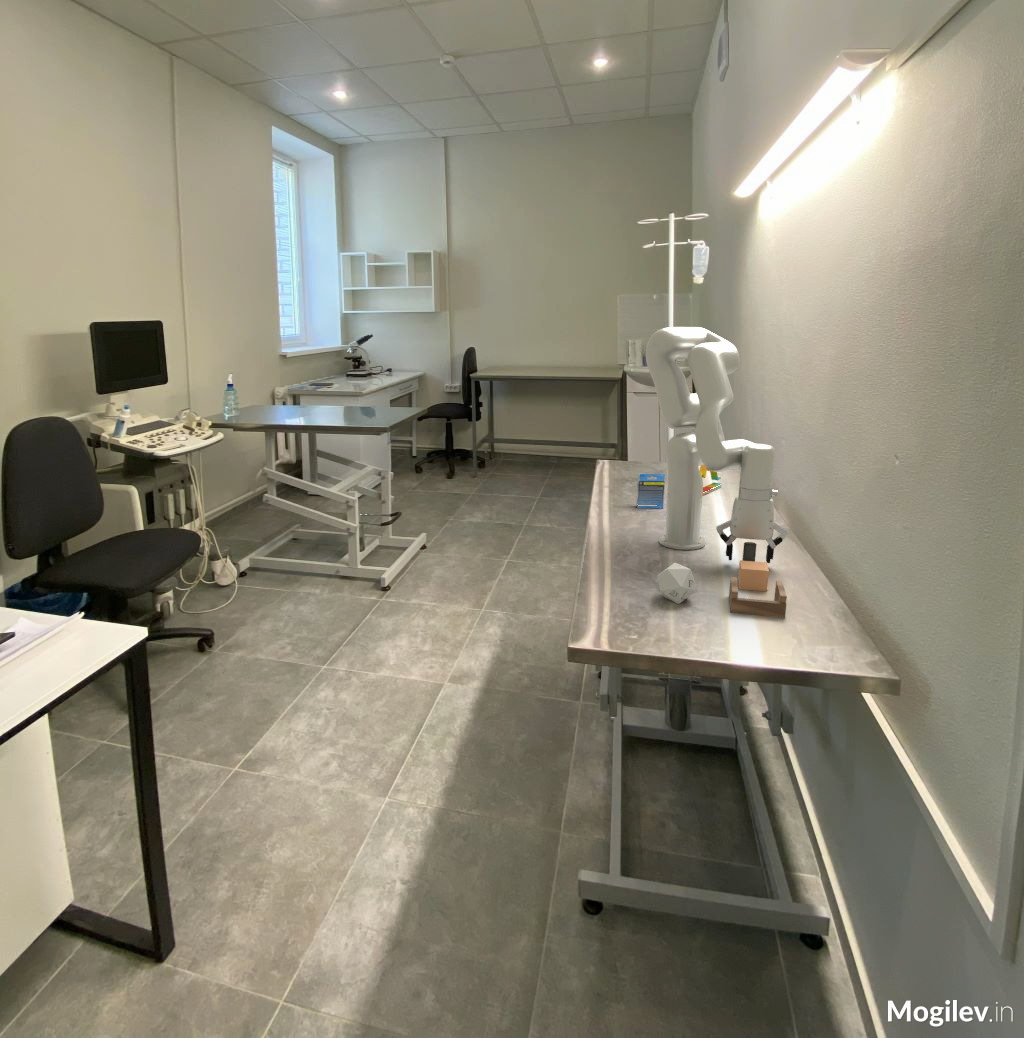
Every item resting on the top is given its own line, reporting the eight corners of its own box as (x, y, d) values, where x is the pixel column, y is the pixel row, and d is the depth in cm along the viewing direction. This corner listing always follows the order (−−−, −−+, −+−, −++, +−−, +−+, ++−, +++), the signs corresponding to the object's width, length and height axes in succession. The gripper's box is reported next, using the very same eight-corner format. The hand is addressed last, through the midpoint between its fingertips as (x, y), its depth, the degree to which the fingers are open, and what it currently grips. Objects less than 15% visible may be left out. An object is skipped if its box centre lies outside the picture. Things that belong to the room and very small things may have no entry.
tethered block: (735, 563, 170) (737, 541, 168) (760, 565, 168) (762, 542, 167) (739, 588, 153) (741, 564, 151) (766, 591, 151) (769, 566, 149)
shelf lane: (729, 595, 149) (730, 576, 147) (779, 600, 146) (781, 581, 145) (730, 612, 140) (732, 592, 138) (784, 617, 137) (787, 597, 136)
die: (657, 608, 144) (685, 580, 139) (642, 579, 150) (669, 551, 144) (683, 614, 148) (711, 587, 143) (668, 585, 154) (694, 558, 149)
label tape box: (662, 506, 228) (663, 471, 225) (663, 509, 224) (665, 473, 221) (636, 505, 229) (637, 471, 226) (637, 508, 225) (638, 473, 222)
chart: (688, 503, 232) (690, 461, 228) (679, 502, 234) (681, 461, 230) (721, 488, 255) (724, 450, 251) (713, 487, 257) (716, 449, 253)
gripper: (790, 492, 164) (783, 558, 168) (717, 489, 168) (713, 553, 173) (794, 499, 157) (787, 567, 161) (718, 495, 161) (713, 562, 166)
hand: (748, 560), depth 167 cm, fingers open, 8 cm apart
